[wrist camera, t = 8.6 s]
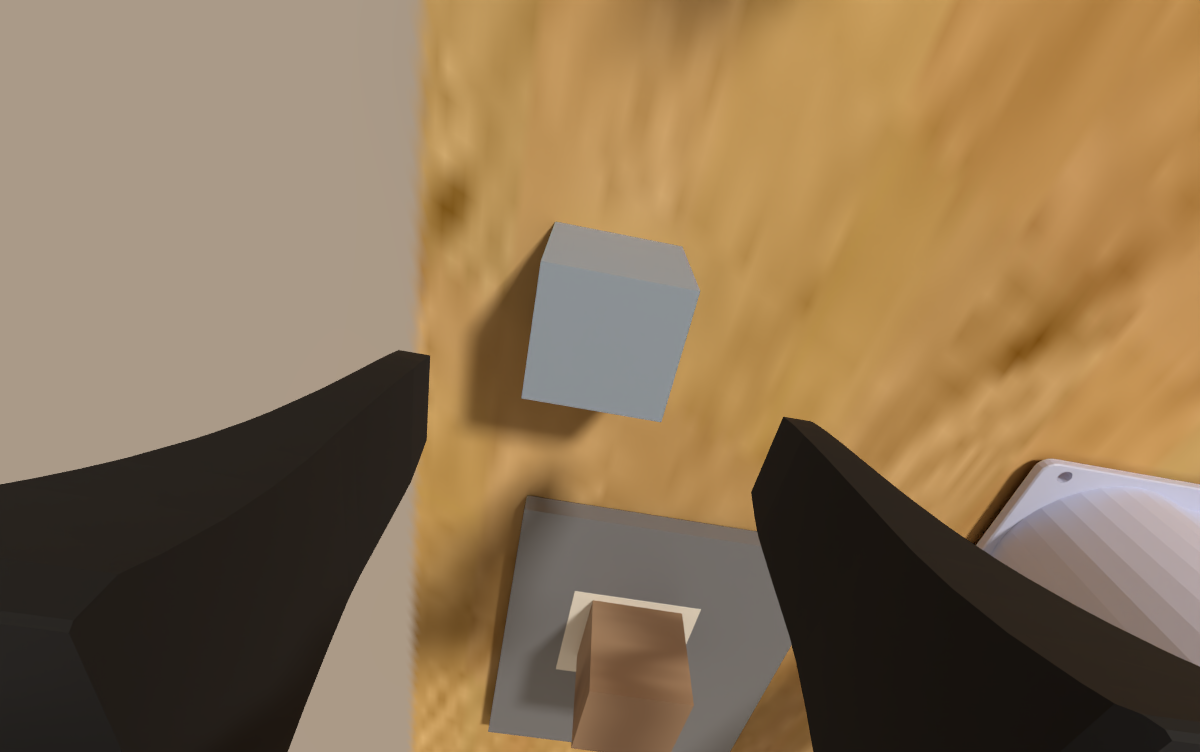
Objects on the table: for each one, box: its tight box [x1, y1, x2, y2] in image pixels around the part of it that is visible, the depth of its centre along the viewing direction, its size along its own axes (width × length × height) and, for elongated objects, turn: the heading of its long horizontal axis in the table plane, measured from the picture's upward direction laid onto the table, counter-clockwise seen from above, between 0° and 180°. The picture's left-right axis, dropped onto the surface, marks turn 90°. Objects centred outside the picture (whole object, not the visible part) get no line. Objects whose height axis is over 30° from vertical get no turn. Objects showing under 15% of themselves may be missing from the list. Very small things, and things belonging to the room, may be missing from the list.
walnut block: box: [571, 600, 694, 752], centre depth 23 cm, size 4×4×4 cm
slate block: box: [521, 222, 700, 422], centre depth 16 cm, size 4×4×4 cm
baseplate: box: [488, 495, 792, 752], centre depth 26 cm, size 13×16×1 cm
